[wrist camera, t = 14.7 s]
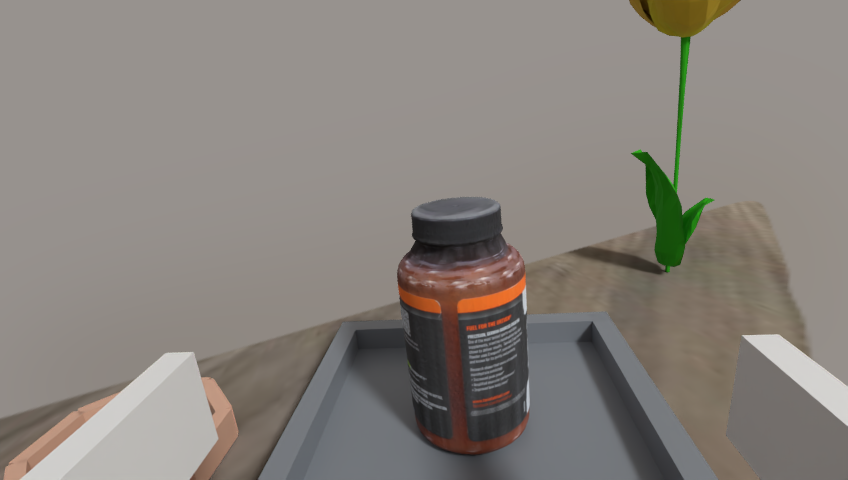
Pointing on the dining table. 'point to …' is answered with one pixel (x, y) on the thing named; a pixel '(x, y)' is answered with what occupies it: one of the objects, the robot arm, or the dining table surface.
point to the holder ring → (75, 420)
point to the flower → (677, 16)
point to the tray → (513, 464)
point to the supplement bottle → (465, 326)
